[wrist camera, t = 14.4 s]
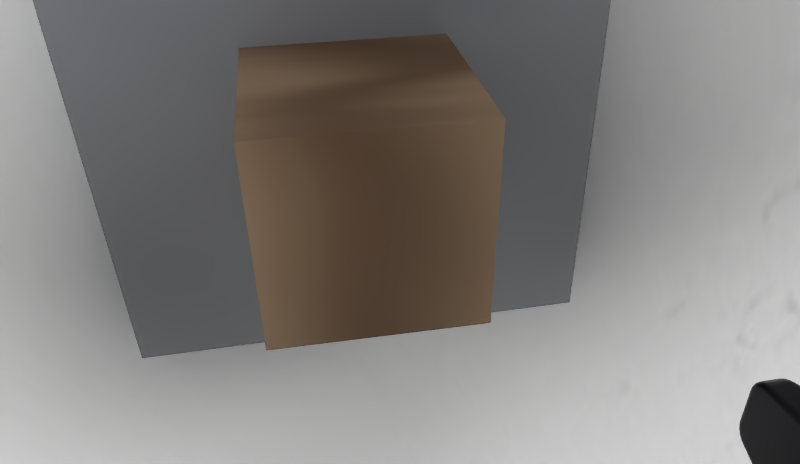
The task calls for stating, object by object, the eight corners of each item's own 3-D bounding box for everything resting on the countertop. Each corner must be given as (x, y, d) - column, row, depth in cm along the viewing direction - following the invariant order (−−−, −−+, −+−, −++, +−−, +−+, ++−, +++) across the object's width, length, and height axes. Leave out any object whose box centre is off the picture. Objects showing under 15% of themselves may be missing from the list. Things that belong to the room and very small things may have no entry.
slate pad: (613, -176, 15) (633, -172, 14) (557, 281, 22) (569, 302, 21) (5, -149, 13) (-11, -142, 13) (146, 333, 20) (142, 358, 19)
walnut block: (446, 33, 16) (505, 118, 12) (442, 208, 18) (490, 322, 15) (238, 47, 15) (233, 142, 12) (263, 225, 18) (266, 350, 14)
